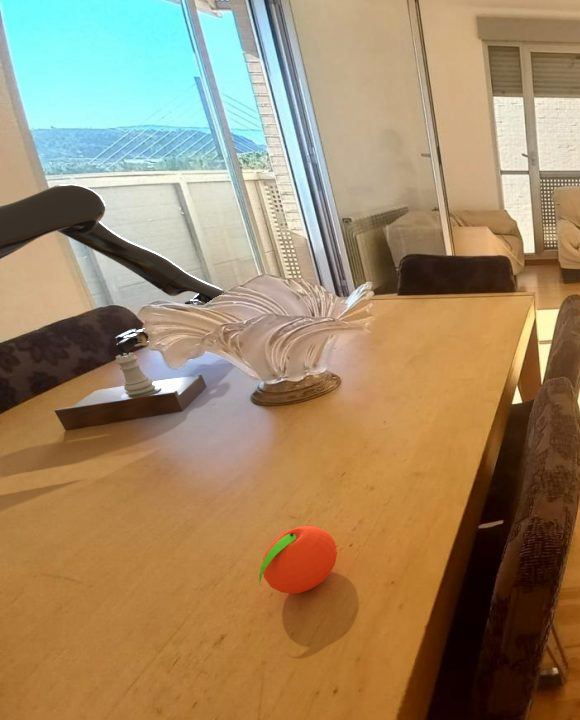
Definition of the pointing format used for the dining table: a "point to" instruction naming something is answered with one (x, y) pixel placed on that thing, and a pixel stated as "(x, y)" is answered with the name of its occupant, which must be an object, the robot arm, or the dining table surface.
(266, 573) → the clementine
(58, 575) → the dining table surface
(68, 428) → the shelf
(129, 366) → the rook chess piece
